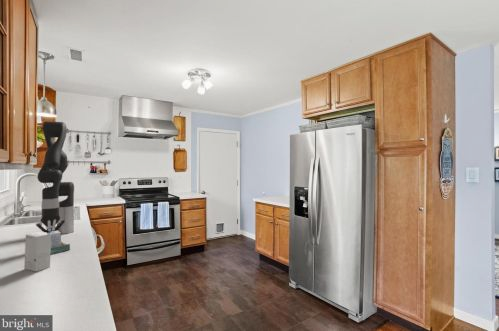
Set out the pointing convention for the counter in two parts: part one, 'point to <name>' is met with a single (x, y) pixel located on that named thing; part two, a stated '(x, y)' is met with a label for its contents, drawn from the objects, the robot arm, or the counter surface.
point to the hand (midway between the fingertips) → (50, 239)
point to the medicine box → (55, 238)
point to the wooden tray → (60, 248)
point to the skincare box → (37, 251)
